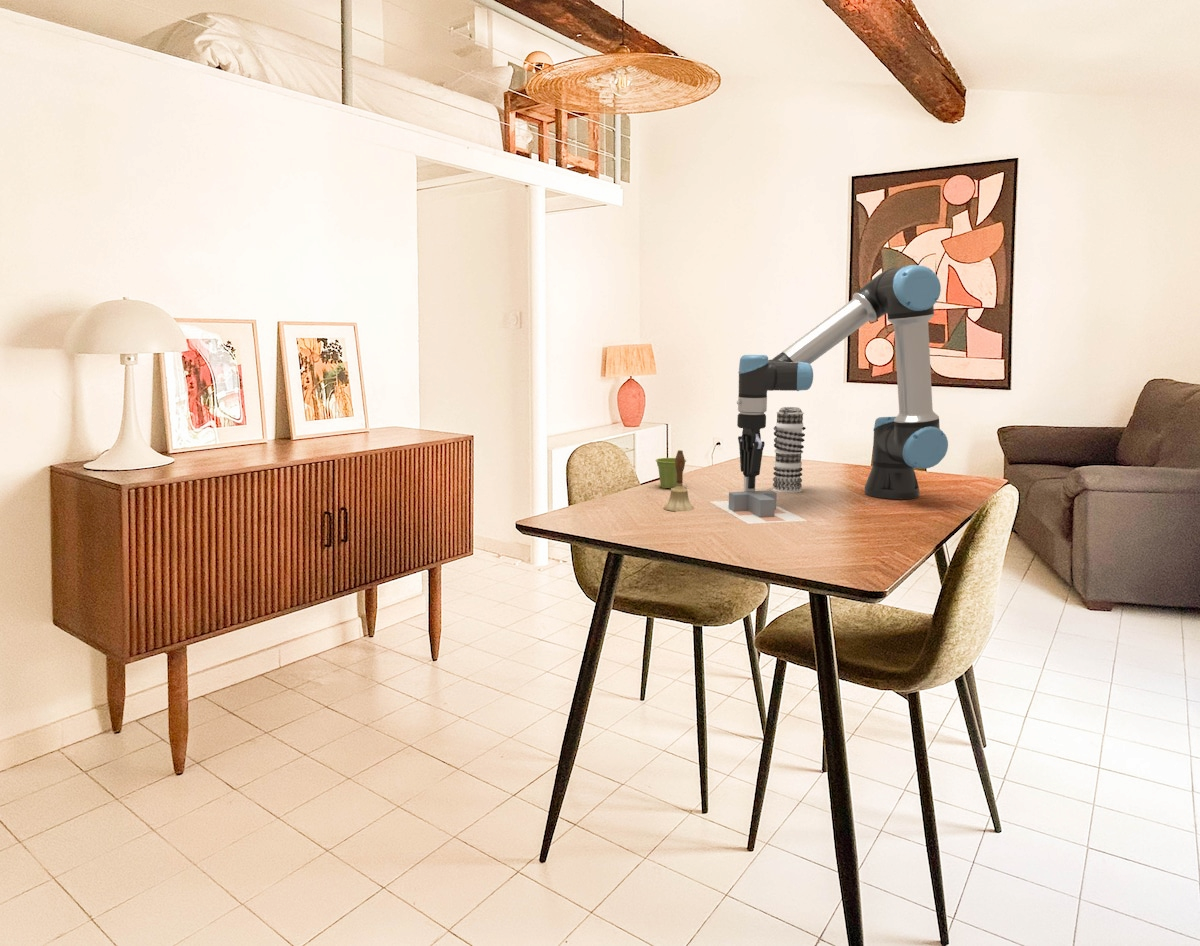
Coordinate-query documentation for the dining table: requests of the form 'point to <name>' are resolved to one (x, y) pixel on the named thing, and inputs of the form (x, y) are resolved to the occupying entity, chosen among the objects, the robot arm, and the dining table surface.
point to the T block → (754, 502)
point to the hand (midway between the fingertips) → (749, 499)
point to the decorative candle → (788, 450)
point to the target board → (751, 518)
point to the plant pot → (667, 472)
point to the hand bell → (679, 489)
